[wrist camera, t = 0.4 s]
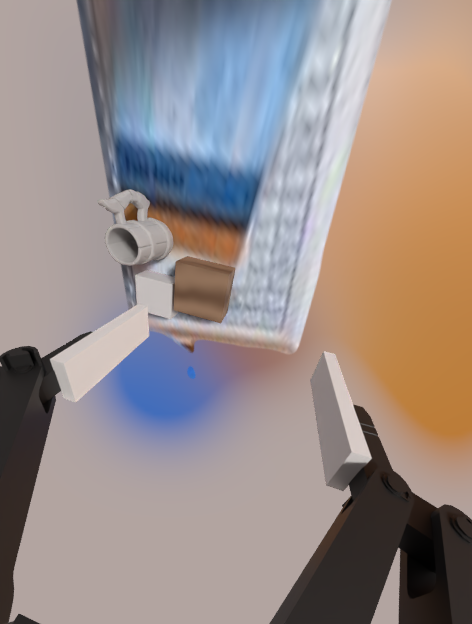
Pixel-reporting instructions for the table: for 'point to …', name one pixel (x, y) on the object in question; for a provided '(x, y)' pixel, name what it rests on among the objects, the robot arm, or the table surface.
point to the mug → (135, 231)
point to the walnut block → (202, 288)
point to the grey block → (156, 293)
